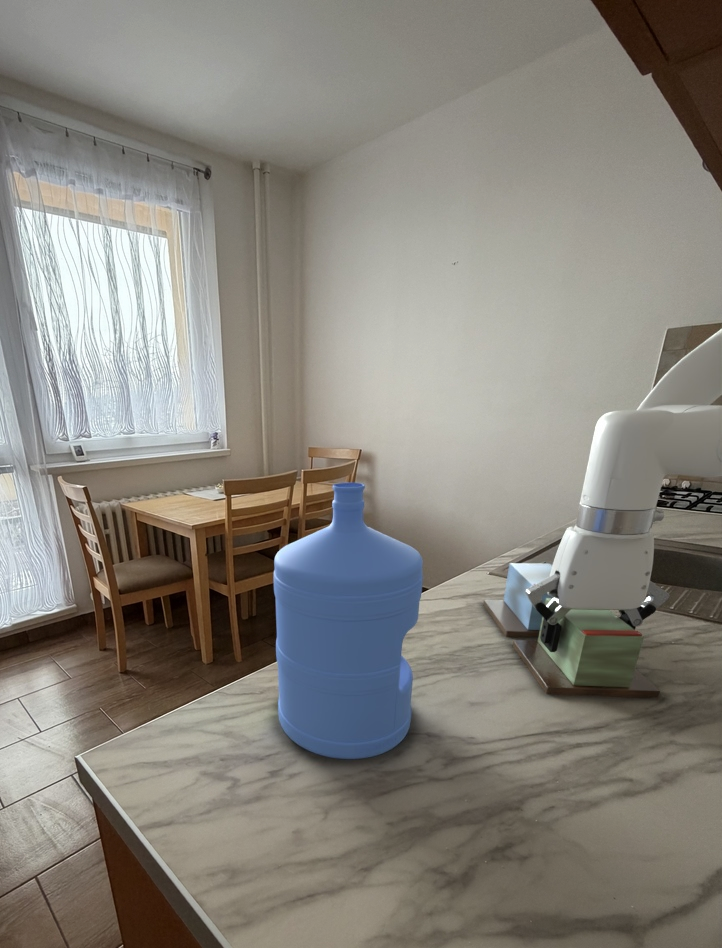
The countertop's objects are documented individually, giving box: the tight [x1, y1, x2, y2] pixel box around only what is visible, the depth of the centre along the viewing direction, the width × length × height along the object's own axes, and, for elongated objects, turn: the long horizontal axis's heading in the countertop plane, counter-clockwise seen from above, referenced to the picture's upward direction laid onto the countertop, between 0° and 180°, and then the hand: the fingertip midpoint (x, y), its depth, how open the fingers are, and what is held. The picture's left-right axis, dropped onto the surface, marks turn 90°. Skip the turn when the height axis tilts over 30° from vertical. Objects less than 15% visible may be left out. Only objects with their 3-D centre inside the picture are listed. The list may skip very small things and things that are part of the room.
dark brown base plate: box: [482, 599, 540, 638], centre depth 81 cm, size 13×13×2 cm
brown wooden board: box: [512, 639, 661, 699], centre depth 66 cm, size 13×13×2 cm
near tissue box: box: [537, 598, 644, 687], centre depth 64 cm, size 12×6×7 cm, turn 173°
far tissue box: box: [503, 562, 554, 630], centre depth 79 cm, size 12×6×7 cm, turn 173°
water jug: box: [273, 482, 424, 760], centre depth 53 cm, size 16×16×28 cm
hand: (582, 647), depth 65 cm, fingers open, 8 cm apart
